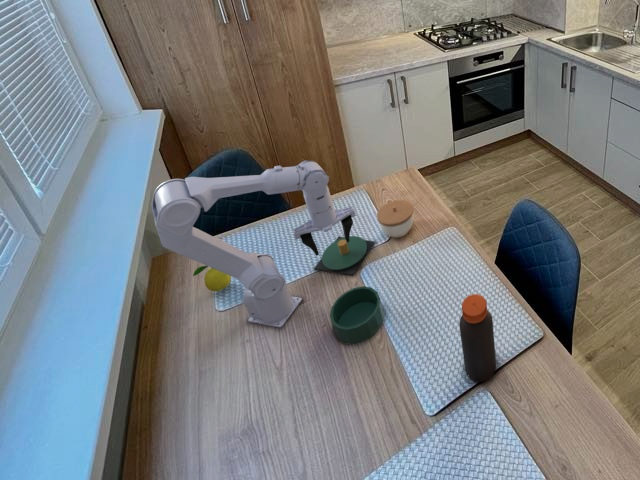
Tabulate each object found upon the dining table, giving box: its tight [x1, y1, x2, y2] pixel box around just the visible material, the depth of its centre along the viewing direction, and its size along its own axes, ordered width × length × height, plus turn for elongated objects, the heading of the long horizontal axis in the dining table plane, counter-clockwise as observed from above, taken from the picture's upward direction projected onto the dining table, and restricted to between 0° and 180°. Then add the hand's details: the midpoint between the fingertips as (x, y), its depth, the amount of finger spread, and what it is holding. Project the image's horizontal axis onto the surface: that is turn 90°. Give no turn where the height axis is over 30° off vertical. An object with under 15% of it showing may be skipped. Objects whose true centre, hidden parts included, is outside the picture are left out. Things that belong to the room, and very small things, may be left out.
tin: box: [329, 285, 384, 345], centre depth 97 cm, size 11×11×5 cm
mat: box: [313, 236, 376, 277], centre depth 117 cm, size 12×12×1 cm
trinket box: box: [376, 199, 415, 239], centre depth 124 cm, size 11×11×9 cm
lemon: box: [192, 265, 232, 292], centre depth 106 cm, size 7×6×10 cm
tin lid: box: [321, 235, 367, 270], centre depth 116 cm, size 12×12×5 cm
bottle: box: [458, 293, 497, 383], centre depth 84 cm, size 7×7×20 cm
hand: (332, 246), depth 107 cm, fingers open, 7 cm apart
